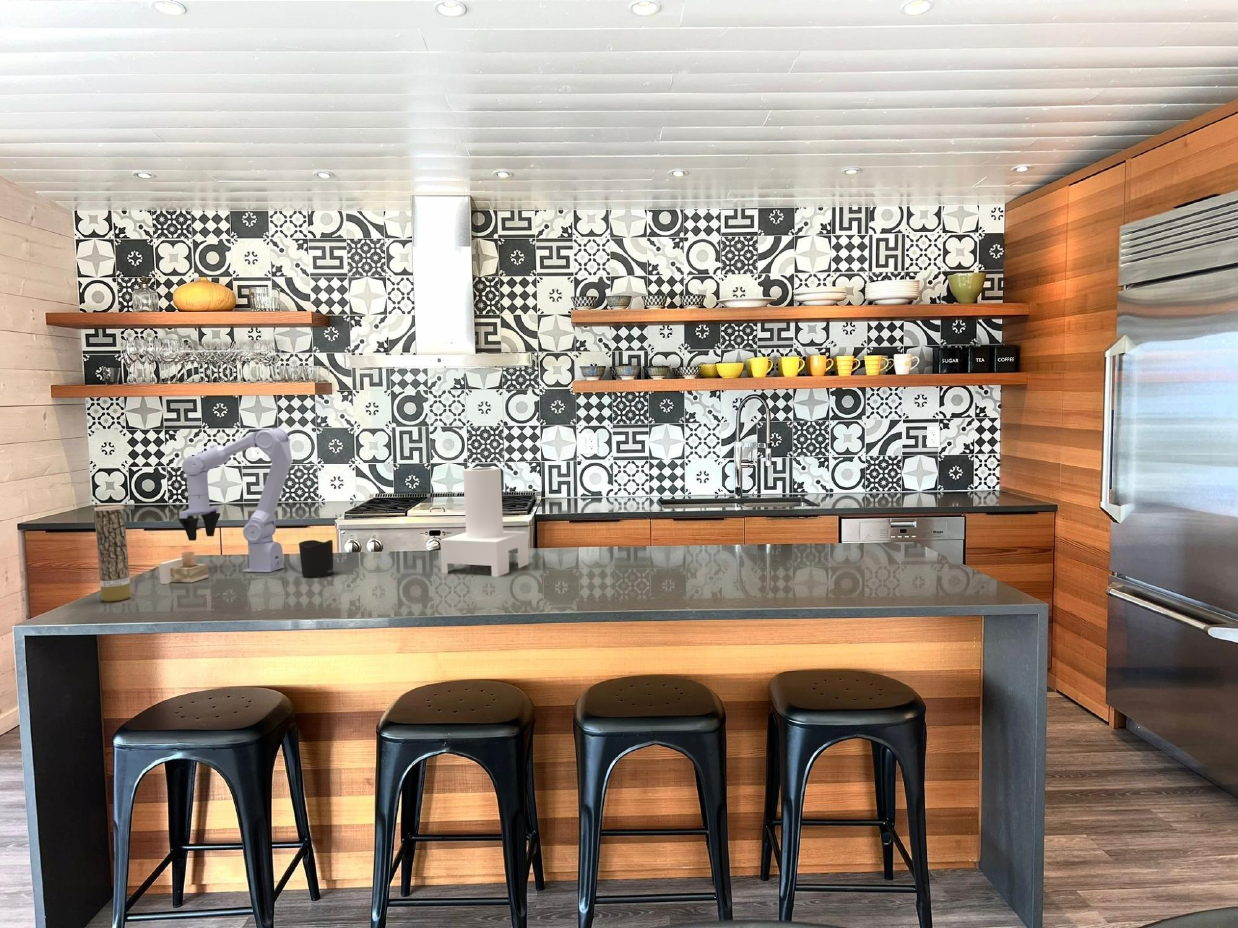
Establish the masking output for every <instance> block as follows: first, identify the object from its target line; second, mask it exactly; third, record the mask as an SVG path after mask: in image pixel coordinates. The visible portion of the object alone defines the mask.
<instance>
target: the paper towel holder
mask: <svg viewBox="0 0 1238 928" xmlns="http://www.w3.org/2000/svg"><path fill="white" fill-rule="evenodd" d="M501 473H502V472H501V467H489V466H488V467H473V468H470V467H469V468H464V469H463V470H462V474H463V475H462V477H463V491H464V492H463V494H464V495H463V496H464V515H465V516H464V517H465V532H463V533H459V534H456V535H452V536H449V537H445V538H442V539H440V557H441V558H440V561H441V574H446V575H447V574H448V573H449V572H451V571H453V570H455V565H464V566H466V565H472V566H473V565H474V566H491V570H490V571H491V577H496V578H499V577H501V576H502V575H506V574H507V573H509V572H510V562H509V554H517V562H518V567H517V568H518V569H520V568H522V567H525V566H527V565H529V564H530V557H529V554H530V553H529V537H528V535H529V534H528V533H529V532H528V531H520V530H519V531H517V530H504V520H503V518H504V517H503V501H502V500H503V497H502V496H503V495H502V492H503V491H502V474H501Z"/></svg>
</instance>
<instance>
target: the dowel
mask: <svg viewBox="0 0 1238 928" xmlns="http://www.w3.org/2000/svg"><path fill="white" fill-rule="evenodd" d="M181 558H182V561H183V568H191V567H195V564H196V560H195V558H196V557H195V551H186V552H181Z"/></svg>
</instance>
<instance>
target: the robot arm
mask: <svg viewBox="0 0 1238 928" xmlns="http://www.w3.org/2000/svg"><path fill="white" fill-rule="evenodd" d="M290 443H291V438H290V437H289V435H288V434H287V432H286V431H285V430H284V429H282V428H279V427H278V428H277V427H276V428H272V429H265V428H264V429H261V430H259V431H255V432H252V433H248V435H245V436H243V437H241V438H239V439H237V440H236V441H234V442H232V443H229V444H227V445H225V446H224V445H221V444H218V445H217V444H212V445H211V446H210V448H209V449H206V450H205V451H198V452H196V455H194V456H193V455H190V456H187V457H186V458H185V459H184V460H183V461H182V463H181V467H182V470H183V472H184V473H185V475H186V485H187V498H188V508H186V510H183V511H179V512H178V513H179V518H178V521H179V523H180V525H181V526H182V527H183V529H184V531H185V533H186V535H187V539H188V541H191V542H192V541H196V540H197V538H198V537H197V535H198V534H197V533H198V532H197V528H198V523H199V520H200V519H199V518H198V516H201V518H202V520H203V524H204V528H205V535H206V537H214V536H215V532H216V527H217V524H218V521H219V519H220V517H221V512H220V510H219V509H220V506H219V505H211V506H210V496H209V495H210V494H209V492H210V491H209V481H208V480H209V479H208V473H209V471H210V470H212V469H215V468H216V467H219V466H221V465H223V464H226V463H227V462H229V461H230V458H231V456H233V455H235V454H238V453H240V452H243V451H245V450H248V449H250V448H258V449H259V450H261V451H262V452H263V453H264V454H266V456H268V458H269V459H270V461H271V465H270V468H269V471H268V473H267V477H266V480H265V482H264V485H263V489H262V492H261V494H260V498H259V501H258V504H257V507H256V510H255V511H254V512H253V514H252V515H251V516H250V518H249V521H248V522H247V523H246V524H245V525H244V527H243V529H242V534H243V537H244V539H245V540H246V541H247V550H248V564H249V565H248V568H246V569H243V570H242V571H243V573H245V572H246V573H271V572H275V571H278V570H281V569H283V568H286V566H285V565H284V557H283V556H284V555H283V546H282V544H281V543H280V542H278V541H275V540H274V538H273V536H274V534H275V533H276V530H277V527H276V521H277V516H276V514H275V512H276V509H277V507H278V503H279V501H280V497H281V495H282V492H283V488H284V487H285V483H286V480H287V477H288V474H289V471H290V468H291V465H292V461H293V457H292V452H291V451H292V450H291V445H290ZM195 517H196V518H195Z"/></svg>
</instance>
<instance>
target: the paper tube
mask: <svg viewBox="0 0 1238 928" xmlns="http://www.w3.org/2000/svg"><path fill="white" fill-rule="evenodd" d="M93 511H94V524H95V526H94V527H95V536H96V549H97V559H98V573H99V583H100V584H99V585H100V594H101V595H100V597H101V600H102V601H103V602H108V603H109V602H110V603H111V602H119V601H125V600H127V599H129V598H130V597H131V596H132V595H131V594H132V593H131V592H132V591H131V580H130V579H131V578H130V568H129V555H128V554H129V553H128V543H127V542H128V541H127V532H126V531H127V530H126V518H125V507H124V505H119V504H118V505H106V506H97V507H94V508H93Z"/></svg>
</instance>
